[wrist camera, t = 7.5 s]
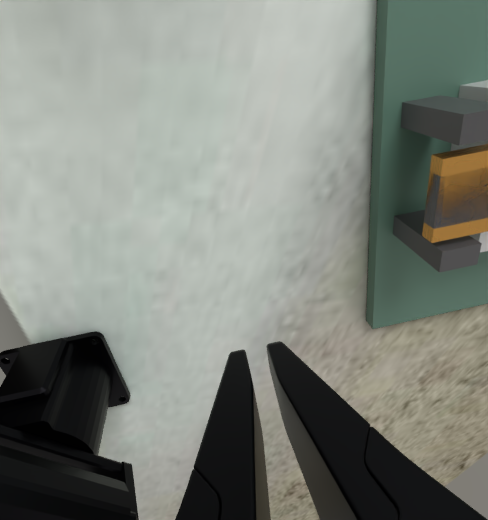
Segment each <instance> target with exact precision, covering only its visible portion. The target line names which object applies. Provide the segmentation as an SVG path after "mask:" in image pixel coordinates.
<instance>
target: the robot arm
mask: <svg viewBox="0 0 488 520" xmlns="http://www.w3.org/2000/svg"><path fill="white" fill-rule="evenodd" d="M93 339H97V340H98V341H94V340H93ZM267 354H268V360H269V367H270V372H271V376H272V380H273V384H274V388H275V392H276V395H277V399H278V403H279V407H280V411H281V415H282V419H283V422H284V426H285V429H286V432H287V435H288V437H289V440H290V443H291V445H292V448H293V450H294V453H295V456H296V458H297V461H298V463H299V466H300V469H301V471H302V474H303V476H304V479H305V482H306V484H307V487H308V489H309V492H310V494H311V497H312V500H313V502H314V505H315V507H316V510H317V513H318V515H319V518H320V520H487V519H486V518H485V517H483V516H482V515H481V514H479V513H478V512H477V511H476V510H474V509H473V508H471V507H470V506H469V505H468V504H466V503H465V502H464V501H462V500H461V499H460V498H459V497H457V496H456V495H455V494H453V493H452V492H451V491H449V490H448V489H447V488H445V487H444V486H443V485H441V484H440V483H439V482H438V481H436V480H435V479H434V478H432V477H431V476H430V475H428V474H427V473H426V472H425V471H423V470H422V469H421V468H420V467H418V466H417V465H416V464H414V463H413V462H412V461H411V460H409V459H408V458H407V457H406V456H404V455H403V454H402V453H401V452H400V451H399V450H398V449H396V448H395V447H394V446H393V445H392V444H391V443H390V442H389V441H387V440H386V439H385V438H384V437H383V436H382V435H381V434H380V433H379V432H378V431H377V430H376V429H375V428H374V427H370V424H369V423H368V422H367V421H366V420H365V419H364V418H363V417H362V416H360V415H359V414H358V413H357V412H356V411H355V410H354V409H353V408H352V407H351V406H350V405H349V404H348V403H347V402H346V401H344V400H343V399H342V398H341V397H340V396H339V395H338V394H337V393H336V392H335V391H334V390H333V389H332V388H331V387H330V386H328V385H327V384H326V383H325V382H324V381H323V380H322V379H321V378H320V377H319V376H318V375H317V374H316V373H315V372H313V371H312V370H311V369H310V368H309V367H308V366H307V365H306V364H305V363H304V362H303V361H302V360H301V359H300V358H299V357H297V356H296V355H295V354H294V353H293V352H292V351H291V350H290V349H289V348H288V347H287V346H286V345H285V344H284V343H282V342H280V341H279V342H274V343H270V344H268V345H267ZM5 358H7V359H8V360H7V359H5ZM0 367H1V369H2V370H3V372H4V373H5V374H6V378H5V379H4V381H3V383H2V385H1V387H0V520H139V519H138V511H137V503H136V495H135V487H134V479H133V471H132V464H129V463H126V462H122V463H120V462H117V461H114V460H111V459H107V458H104V457H101V456H98V453H99V448H100V443H101V438H102V433H103V428H104V424H105V419H106V414H107V409H108V407H113V406H117V405H121V404H125V403H127V402H129V400H130V392H129V390H128V388H127V386H126V384H125V381H124V379H123V377H122V375H121V373H120V371H119V368H118V366H117V364H116V362H115V360H114V357H113V355H112V353H111V351H110V349H109V347H108V344H107V342H106V340H105V338H104V336H103V335H102V334H101V333H100V332H90V333H85V334H81V335H76V336H71V337H67V338H60V339H56V340H51V341H46V342H41V343H37V344H32V345H27V346H23V347H20V348H15V349H10V350H6V351H3V352H1V353H0ZM175 520H271V519H270V508H269V497H268V486H267V475H266V465H265V454H264V443H263V435H262V428H261V423H260V418H259V413H258V408H257V403H256V398H255V392H254V387H253V382H252V378H251V373H250V369H249V364H248V360H247V356H246V352H245V350H238V351H234V352H231V353H230V354H229V357H228V360H227V363H226V366H225V370H224V373H223V376H222V379H221V382H220V385H219V389H218V392H217V395H216V398H215V401H214V404H213V408H212V411H211V414H210V417H209V420H208V423H207V426H206V430H205V433H204V436H203V439H202V442H201V445H200V449H199V452H198V455H197V458H196V461H195V464H194V470H192V473H191V476H190V480H189V483H188V486H187V489H186V492H185V495H184V497H183V500H182V503H181V506H180V509H179V512H178V514H177V516H176V519H175Z"/></svg>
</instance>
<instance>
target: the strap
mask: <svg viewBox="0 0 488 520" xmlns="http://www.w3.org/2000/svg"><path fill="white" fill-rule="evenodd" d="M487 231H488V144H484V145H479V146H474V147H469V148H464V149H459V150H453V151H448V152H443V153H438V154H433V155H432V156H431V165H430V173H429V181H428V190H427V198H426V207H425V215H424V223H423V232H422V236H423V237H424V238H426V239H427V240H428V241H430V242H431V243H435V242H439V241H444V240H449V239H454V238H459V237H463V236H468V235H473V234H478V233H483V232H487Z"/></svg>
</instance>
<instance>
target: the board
mask: <svg viewBox="0 0 488 520" xmlns="http://www.w3.org/2000/svg"><path fill="white" fill-rule="evenodd" d="M484 144H488V0H377V29H376V57H375V85H374V114H373V142H372V171H371V199H370V227H369V256H368V284H367V312H366V321H367V322H368V323H369V325H370V326H371V328H372V329H375V328H380V327H384V326H389V325H393V324H398V323H402V322H407V321H411V320H415V319H420V318H424V317H429V316H433V315H438V314H442V313H447V312H451V311H456V310H460V309H465V308H469V307H474V306H478V305H483V304H487V303H488V231H487V232H483V233H478V234H473V235H468V236H463V237H459V238H454V239H449V240H444V241H439V242H435V243H431V242H430V241H428V240H427V239H426V238H424V237H423V236H422V232H423V223H424V215H425V207H426V198H427V190H428V181H429V173H430V165H431V156H432V155H433V154H438V153H443V152H448V151H453V150H459V149H464V148H469V147H474V146H479V145H484Z"/></svg>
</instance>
